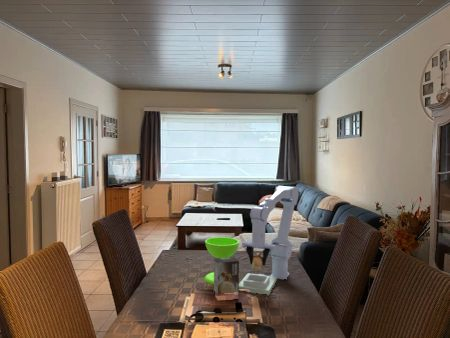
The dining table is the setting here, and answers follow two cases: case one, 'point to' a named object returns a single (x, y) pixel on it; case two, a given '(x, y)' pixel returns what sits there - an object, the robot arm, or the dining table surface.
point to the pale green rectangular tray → (258, 283)
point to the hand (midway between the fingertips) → (257, 264)
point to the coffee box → (226, 275)
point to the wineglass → (220, 250)
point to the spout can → (257, 261)
